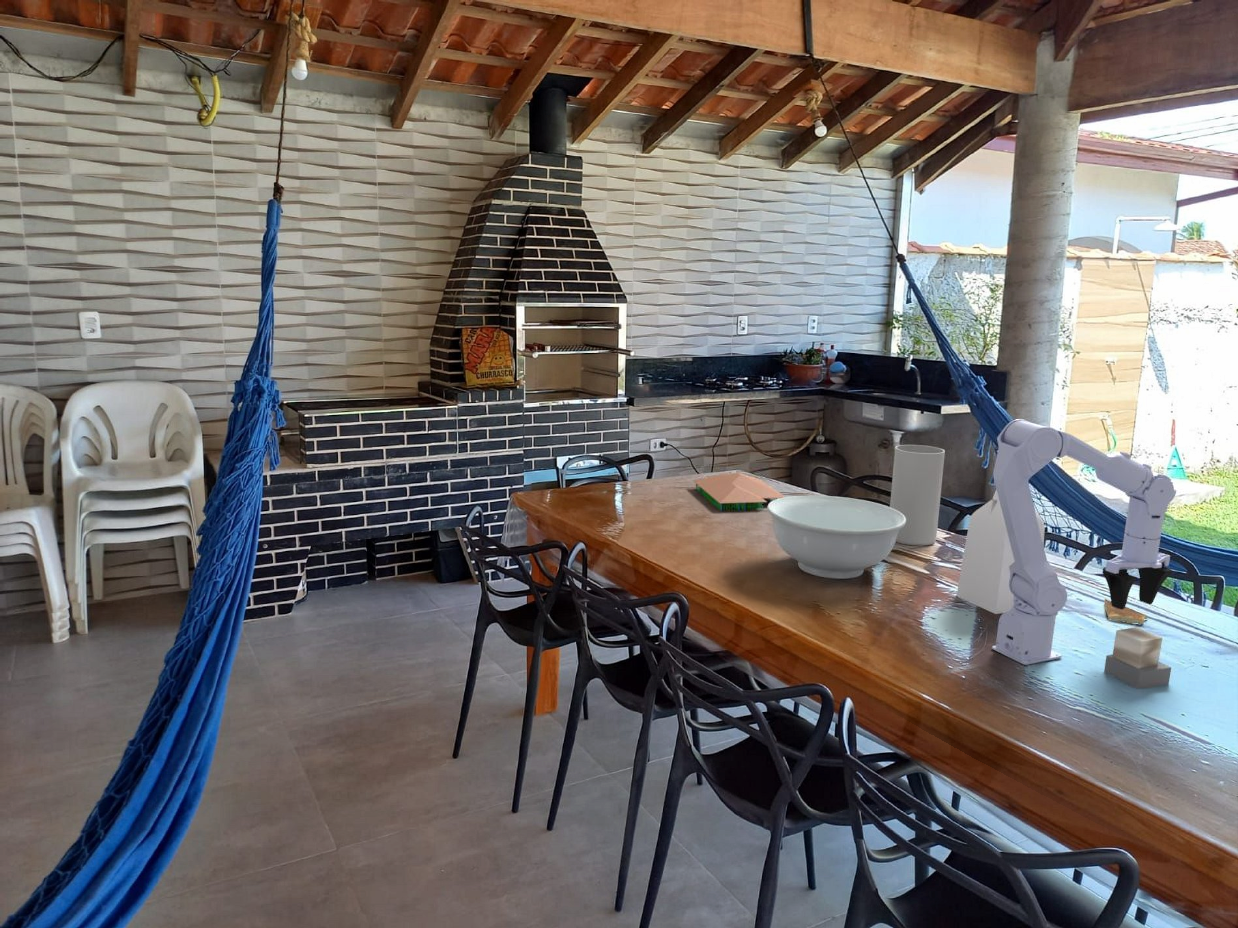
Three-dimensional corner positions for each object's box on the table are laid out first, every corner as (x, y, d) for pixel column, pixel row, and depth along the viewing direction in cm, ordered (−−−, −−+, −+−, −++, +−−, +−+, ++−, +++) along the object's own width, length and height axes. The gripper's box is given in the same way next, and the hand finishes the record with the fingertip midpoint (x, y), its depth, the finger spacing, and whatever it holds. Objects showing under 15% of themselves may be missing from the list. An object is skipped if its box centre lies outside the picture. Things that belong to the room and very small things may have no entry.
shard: (1103, 605, 191) (1104, 597, 190) (1143, 611, 187) (1145, 603, 187) (1106, 621, 181) (1107, 613, 181) (1148, 628, 178) (1149, 620, 177)
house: (755, 486, 296) (756, 462, 294) (791, 511, 264) (793, 485, 262) (690, 487, 291) (691, 464, 290) (719, 513, 260) (720, 487, 258)
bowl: (917, 564, 214) (922, 507, 211) (876, 602, 188) (882, 537, 185) (794, 541, 232) (797, 488, 229) (741, 573, 205) (744, 513, 202)
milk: (998, 589, 197) (1011, 478, 192) (1038, 607, 187) (1053, 490, 182) (956, 595, 193) (968, 481, 188) (995, 614, 183) (1009, 494, 177)
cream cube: (1138, 668, 150) (1142, 641, 149) (1112, 656, 155) (1116, 630, 153) (1158, 664, 152) (1162, 637, 151) (1131, 652, 156) (1136, 626, 155)
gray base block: (1137, 690, 149) (1140, 671, 149) (1103, 673, 156) (1106, 655, 155) (1168, 685, 152) (1171, 667, 151) (1133, 669, 158) (1136, 651, 157)
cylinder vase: (888, 544, 231) (896, 451, 226) (886, 531, 243) (893, 443, 238) (938, 548, 228) (947, 455, 223) (933, 535, 240) (942, 446, 235)
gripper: (1135, 545, 154) (1124, 617, 156) (1189, 537, 159) (1178, 607, 162) (1099, 534, 160) (1090, 604, 163) (1153, 527, 166) (1143, 594, 168)
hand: (1131, 604), depth 163 cm, fingers open, 7 cm apart
